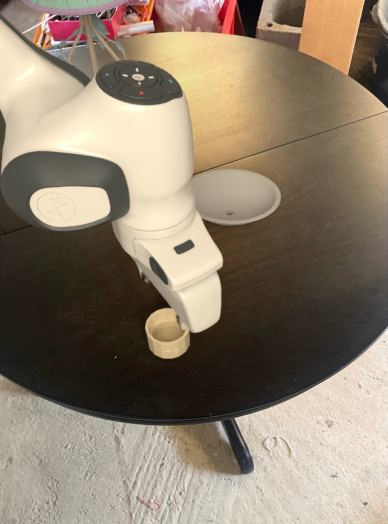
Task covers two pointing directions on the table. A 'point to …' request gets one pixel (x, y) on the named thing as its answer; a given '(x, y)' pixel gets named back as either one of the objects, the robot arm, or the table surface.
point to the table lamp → (82, 22)
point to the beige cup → (166, 334)
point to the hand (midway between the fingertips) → (166, 300)
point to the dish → (234, 196)
